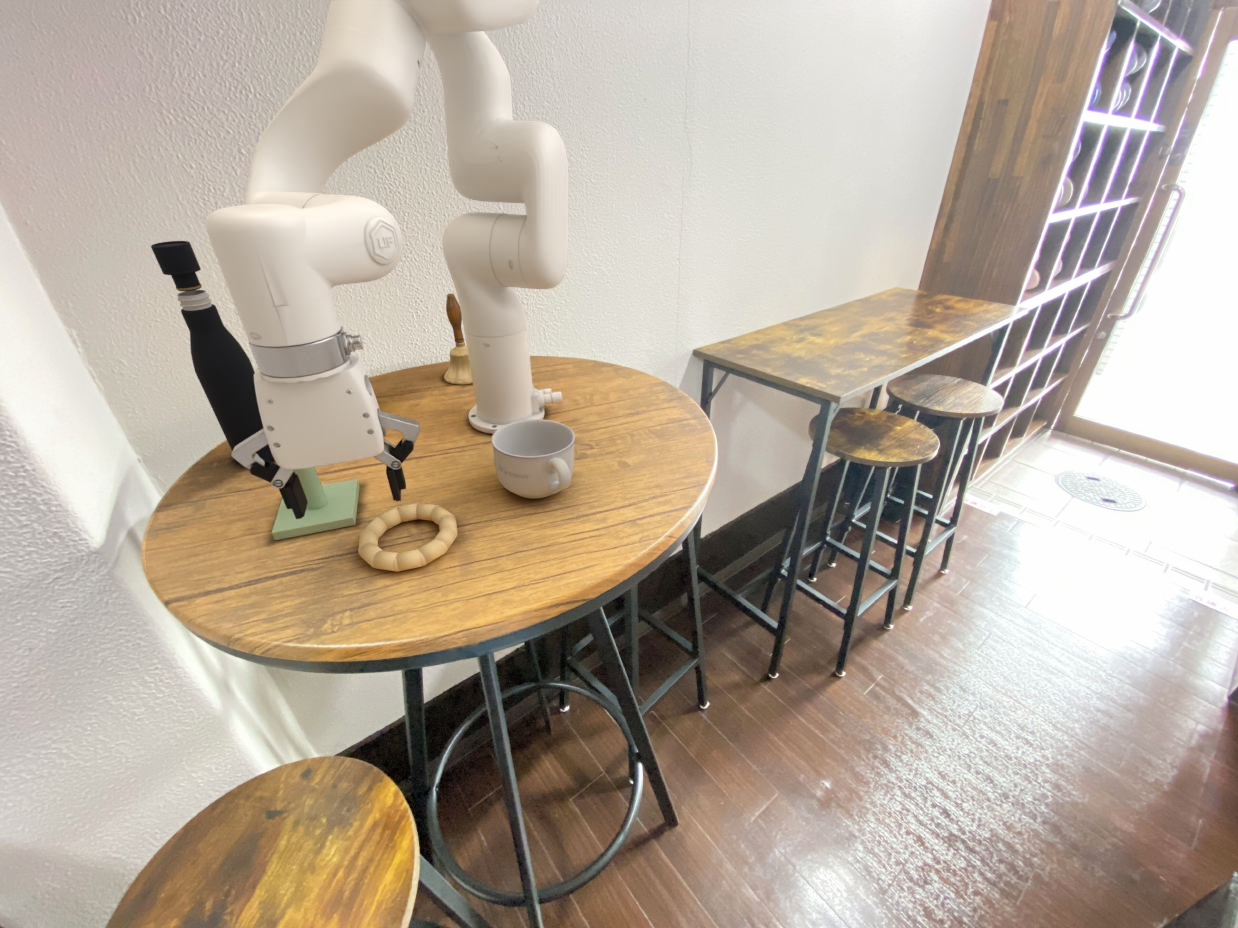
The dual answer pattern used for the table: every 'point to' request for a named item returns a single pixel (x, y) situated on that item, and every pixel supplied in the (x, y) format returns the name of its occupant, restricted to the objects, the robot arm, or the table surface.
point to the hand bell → (457, 347)
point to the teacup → (534, 457)
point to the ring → (414, 557)
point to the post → (319, 507)
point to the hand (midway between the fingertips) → (351, 502)
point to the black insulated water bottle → (214, 349)
